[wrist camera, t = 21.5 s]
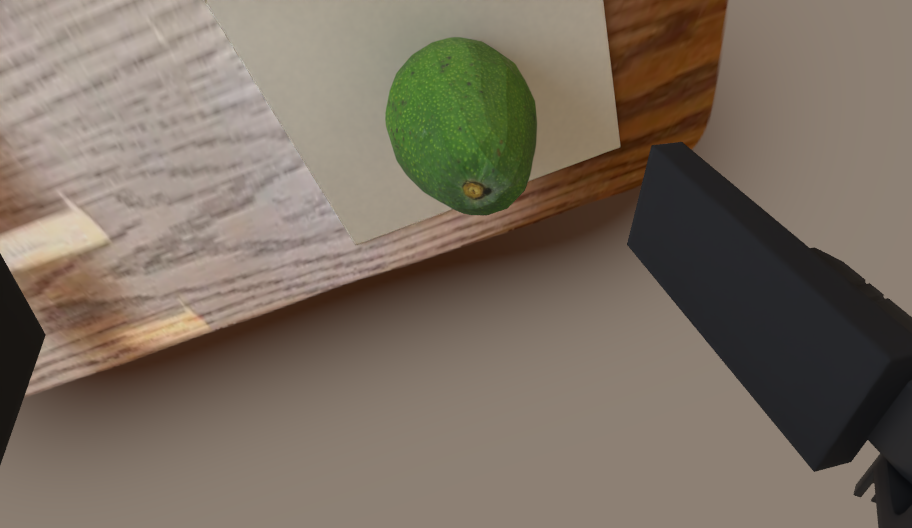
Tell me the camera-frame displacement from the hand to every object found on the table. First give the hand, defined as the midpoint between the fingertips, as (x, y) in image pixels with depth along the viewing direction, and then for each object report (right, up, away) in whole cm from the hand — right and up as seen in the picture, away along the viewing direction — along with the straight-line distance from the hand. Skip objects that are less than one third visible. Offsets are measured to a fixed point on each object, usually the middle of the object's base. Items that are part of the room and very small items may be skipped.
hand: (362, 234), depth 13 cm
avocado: (+1, +11, +23) cm, 26 cm away
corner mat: (+1, +11, +24) cm, 26 cm away
